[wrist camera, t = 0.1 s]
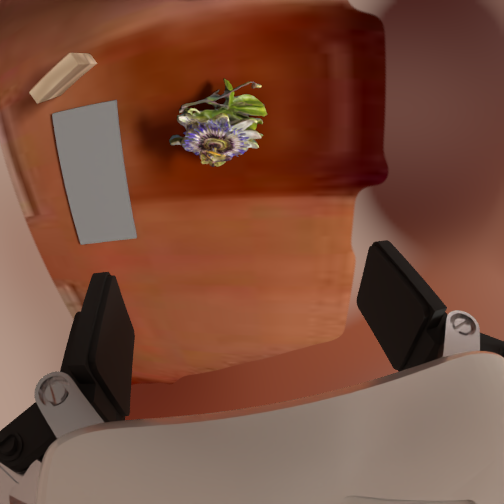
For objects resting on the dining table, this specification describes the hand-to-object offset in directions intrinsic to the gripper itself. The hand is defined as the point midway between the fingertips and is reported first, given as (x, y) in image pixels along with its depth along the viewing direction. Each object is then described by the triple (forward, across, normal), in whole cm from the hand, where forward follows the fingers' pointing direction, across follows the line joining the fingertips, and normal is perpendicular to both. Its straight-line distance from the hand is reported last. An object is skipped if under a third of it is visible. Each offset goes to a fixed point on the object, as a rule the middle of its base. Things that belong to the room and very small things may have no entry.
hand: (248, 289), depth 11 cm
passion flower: (+37, -2, 0) cm, 37 cm away
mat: (+37, +17, +7) cm, 41 cm away
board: (+37, +18, -9) cm, 42 cm away
